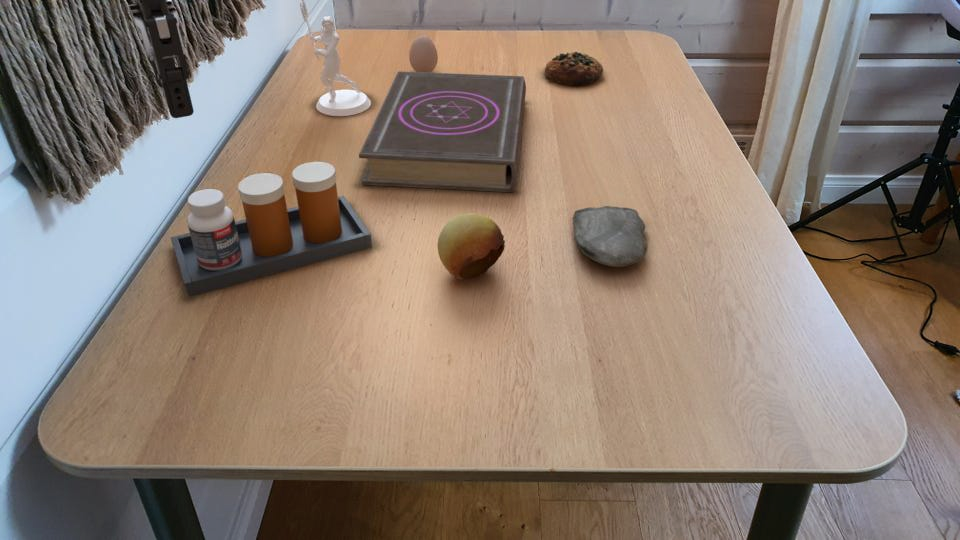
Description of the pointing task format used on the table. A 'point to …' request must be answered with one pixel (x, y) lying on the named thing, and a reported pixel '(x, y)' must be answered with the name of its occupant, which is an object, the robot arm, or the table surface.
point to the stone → (610, 235)
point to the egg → (423, 54)
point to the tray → (260, 266)
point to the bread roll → (574, 69)
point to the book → (447, 132)
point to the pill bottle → (213, 231)
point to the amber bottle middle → (266, 214)
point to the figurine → (334, 74)
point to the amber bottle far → (317, 201)
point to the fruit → (470, 245)
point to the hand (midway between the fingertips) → (175, 100)
